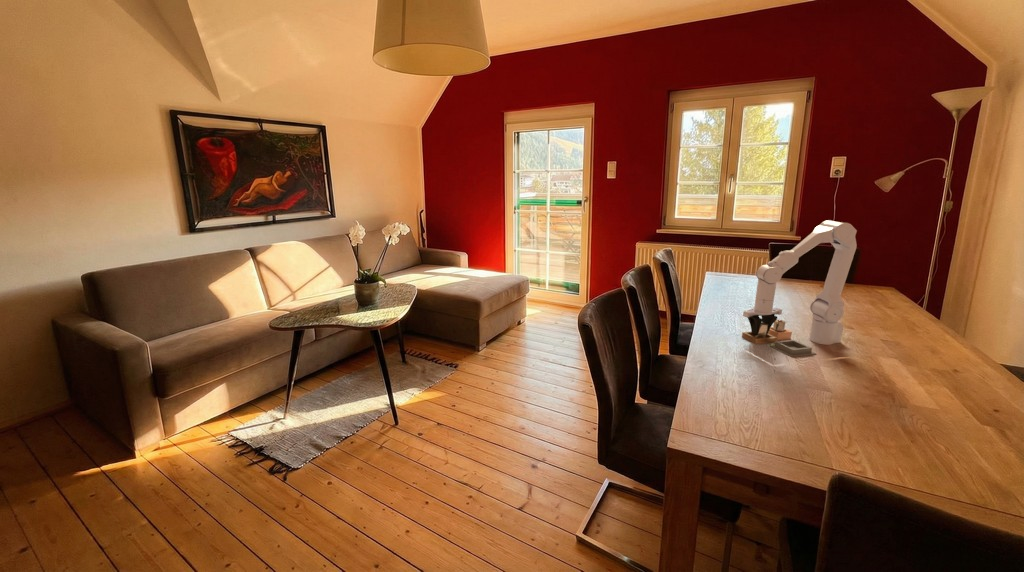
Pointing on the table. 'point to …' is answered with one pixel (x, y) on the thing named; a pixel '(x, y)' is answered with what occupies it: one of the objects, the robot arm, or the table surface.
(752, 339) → the brown square tray
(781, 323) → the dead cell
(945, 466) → the table surface
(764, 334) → the cell
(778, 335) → the orange square box
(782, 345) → the cradle
